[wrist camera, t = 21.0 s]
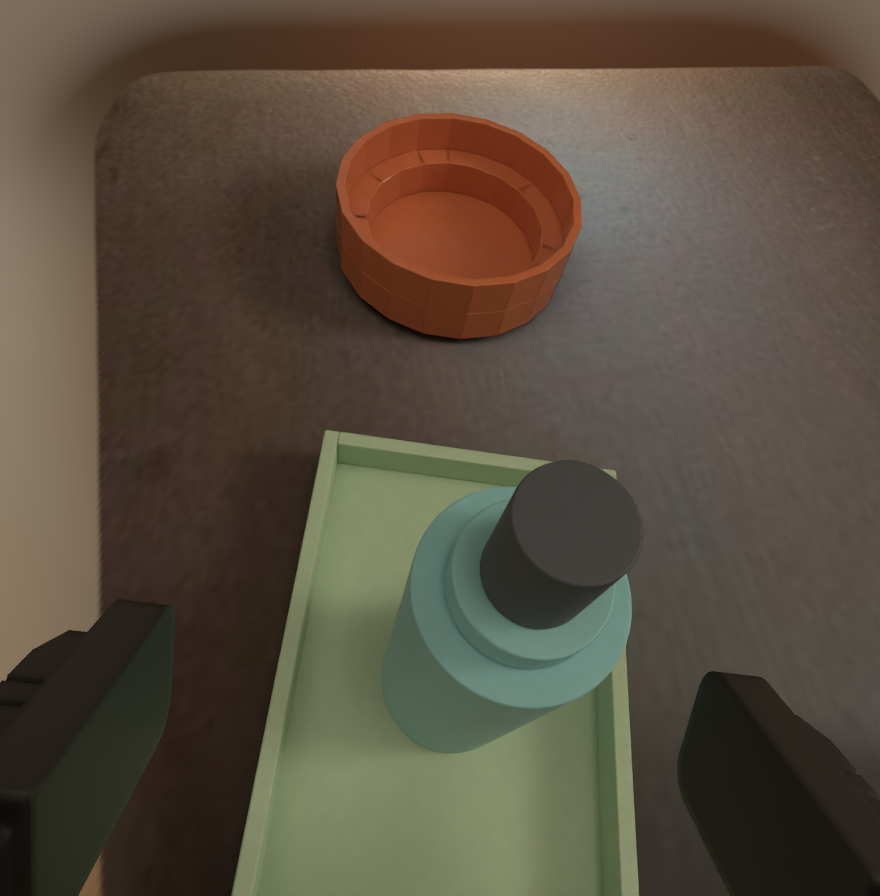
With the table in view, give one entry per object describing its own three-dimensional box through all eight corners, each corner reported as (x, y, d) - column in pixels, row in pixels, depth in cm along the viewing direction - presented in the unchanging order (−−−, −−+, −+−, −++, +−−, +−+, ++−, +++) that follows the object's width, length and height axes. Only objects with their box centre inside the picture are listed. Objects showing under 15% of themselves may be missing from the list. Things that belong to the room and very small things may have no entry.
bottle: (372, 745, 27) (416, 652, 12) (390, 601, 30) (444, 378, 15) (516, 760, 27) (738, 690, 12) (519, 617, 30) (702, 417, 15)
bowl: (319, 324, 38) (316, 260, 33) (355, 165, 45) (357, 95, 40) (557, 361, 39) (584, 303, 34) (556, 200, 46) (579, 135, 41)
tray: (228, 949, 24) (217, 963, 21) (325, 455, 34) (324, 428, 32) (617, 981, 25) (645, 997, 22) (598, 492, 35) (616, 470, 33)
